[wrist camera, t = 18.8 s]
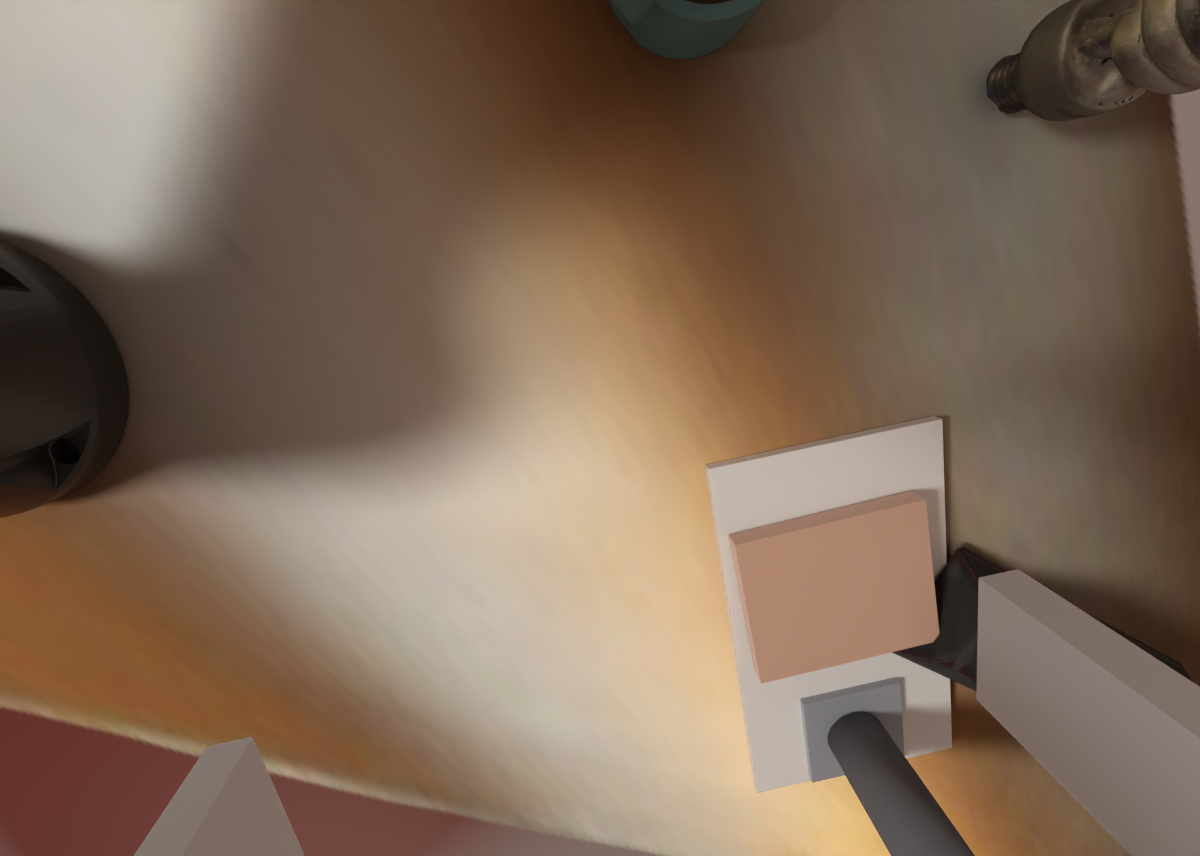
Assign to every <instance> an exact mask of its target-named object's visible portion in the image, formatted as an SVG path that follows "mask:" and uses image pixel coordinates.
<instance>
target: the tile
mask: <svg viewBox="0 0 1200 856" xmlns="http://www.w3.org/2000/svg"><path fill="white" fill-rule="evenodd" d="M728 538H729V543H730V548H731V553H732V559H733V564H734V569H735V574H736V580H737V585H738V590H739V595H740V601H741V606H742V611H743V616H744V621H745V627H746V632H747V637H748V642H749V648H750V653H751V658H752V663H753V668H754V670H755V672H756V674H757V676H758V678H759V680H760V682H761V684H762V683H766V682H770V681H774V680H779V679H783V678H787V677H791V676H795V675H799V674H804V673H808V672H812V671H816V670H820V669H824V668H829V667H833V666H837V665H841V664H845V663H849V662H854V661H858V660H862V659H866V658H870V657H874V656H878V655H883V654H887V653H891V652H895V651H899V650H903V649H908V648H912V647H916V646H920V645H924V644H928V643H933V642H934V640H935V639H936V638H937V636H938V635H939V624H938V614H937V604H936V595H935V585H934V575H933V565H932V556H931V546H930V536H929V526H928V517H927V507H926V499H924V498H922V497H920V496H919V495H917V494H915V493H913V492H912V491H909V492H904V493H900V494H896V495H892V496H888V497H883V498H879V499H875V500H871V501H867V502H863V503H858V504H854V505H850V506H846V507H842V508H837V509H833V510H829V511H825V512H821V513H816V514H812V515H808V516H804V517H800V518H795V519H791V520H787V521H783V522H779V523H775V524H770V525H766V526H762V527H758V528H754V529H749V530H745V531H741V532H737V533H733V534H728Z"/></svg>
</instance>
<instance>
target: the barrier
mask: <svg viewBox="0 0 1200 856" xmlns="http://www.w3.org/2000/svg"><path fill="white" fill-rule="evenodd" d="M1003 572H1007V571H1006V570H1004V569H1002V568H1000V567H998V566H996V565H995V564H993V563H991V562H989V561H987V560H985V559H983V558H981V557H980V556H978V555H976V554H974V553H972V552H970V551H968V550H966V549H965V548H958V549H957V550H956V551H955V553H954V554H953V556H952V557H951V559H950V560H949V561H948V563H947V564H946V566H945V567H944V569H943V570H942V571H941V573H940V574H939V576H938V577H937V579H936V580H935V581H934V585H935V595H936V604H937V614H938V624H939V635H938V636H937V638H936V639H935V640H934V642H933V643H928V644H924V645H920V646H916V647H912V648H908V649H903V650H899V651H895V652H892V653H894V654H896V655H898V656H901V657H903V658H905V659H907V660H909V661H912V662H914V663H916V664H918V665H920V666H922V667H925V668H927V669H929V670H931V671H933V672H936V673H938V674H940V675H942V676H944V677H947V678H949V679H951V680H953V681H955V682H957V683H960V684H962V685H964V686H966V687H968V688H971V689H973V690H975V691H977V640H978V585H979V578H980V577H984V576H989V575H994V574H998V573H1003ZM1088 615H1089V614H1088ZM1091 617H1092V616H1091ZM1093 618H1094V617H1093ZM1095 619H1096V618H1095ZM1096 620H1098V619H1096ZM1098 621H1099V622H1101V623H1102V624H1104V625H1105V626H1107V627H1108V628H1110V629H1111V630H1113V631H1115V632H1116V633H1118V634H1119V635H1121V636H1122V637H1124V638H1125V639H1127V640H1128V641H1130V642H1132V643H1133V644H1135V645H1136V646H1138V647H1139V648H1141V649H1142V650H1144V651H1145V652H1147V653H1149V654H1150V655H1152V656H1153V657H1155V658H1156V659H1158V660H1159V661H1161V662H1162V663H1164V664H1165V665H1167V666H1169V667H1170V668H1172V669H1173V670H1175V671H1176V672H1178V673H1179V674H1181V675H1182V676H1184V677H1186V678H1187V679H1189V680H1190V681H1192V680H1191V678H1190V676H1189V675H1188V673H1187V672H1186V670H1185V669H1184V667H1183V666H1182V665H1181V663H1179V662H1177V661H1175V660H1173V659H1171V658H1169V657H1167V656H1166V655H1164V654H1162V653H1160V652H1158V651H1156V650H1154V649H1152V648H1151V647H1149V646H1147V645H1145V644H1143V643H1141V642H1139V641H1137V640H1135V639H1134V638H1132V637H1130V636H1128V635H1126V634H1124V633H1122V632H1120V631H1119V630H1117V629H1115V628H1113V627H1111V626H1109V625H1107V624H1105V623H1104V622H1102V621H1100V620H1098ZM1192 682H1193V681H1192Z"/></svg>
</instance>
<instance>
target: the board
mask: <svg viewBox="0 0 1200 856" xmlns="http://www.w3.org/2000/svg"><path fill="white" fill-rule="evenodd" d="M705 468H706V474H707V481H708V487H709V494H710V501H711V507H712V514H713V520H714V527H715V533H716V540H717V547H718V553H719V560H720V566H721V573H722V579H723V586H724V592H725V599H726V606H727V612H728V619H729V625H730V632H731V638H732V645H733V652H734V658H735V665H736V671H737V678H738V684H739V691H740V698H741V704H742V711H743V717H744V724H745V730H746V737H747V743H748V750H749V757H750V763H751V770H752V776H753V783H754V786H755V788H756V791H757V793H759V792H763V791H768V790H772V789H776V788H781V787H785V786H789V785H794V784H798V783H802V782H807V781H812V782H816V781H821V780H825V779H829V778H834V777H838V776H842V775H845V773H844V772H843V770H842V768H841V766H840V765H839V763H838V761H837V759H836V758H835V756H834V754H833V752H832V751H831V749H830V747H829V745H828V733H829V730H830V728H831V727H832V725H833V724H834V723H835V722H836V721H837V720H838V719H840V718H841V717H843V716H845V715H847V714H849V713H853V712H867V713H870V714H872V715H874V716H876V717H877V718H878V720H879V721H880V722H881V724H882V725H883V727H884V728H885V730H886V731H887V732H888V734H889V735H890V737H891V738H892V739H893V741H894V742H895V744H896V745H897V747H898V748H899V749H900V751H901V752H902V754H903V755H904V756H905V758H910V757H915V756H919V755H923V754H928V753H932V752H936V751H941V750H945V749H949V748H952V729H951V695H950V679H949V678H947V677H944V676H942V675H940V674H938V673H936V672H933V671H931V670H929V669H927V668H925V667H922V666H920V665H918V664H916V663H914V662H912V661H909V660H907V659H905V658H903V657H901V656H898V655H896V654H894V653H892V652H891V653H887V654H883V655H878V656H874V657H870V658H866V659H862V660H858V661H854V662H849V663H845V664H841V665H837V666H833V667H829V668H824V669H820V670H816V671H812V672H808V673H804V674H799V675H795V676H791V677H787V678H783V679H779V680H774V681H770V682H766V683H762V684H761V682H760V680H759V678H758V676H757V674H756V672H755V670H754V668H753V663H752V658H751V653H750V648H749V642H748V637H747V632H746V627H745V621H744V616H743V611H742V606H741V601H740V595H739V590H738V585H737V580H736V574H735V569H734V564H733V559H732V553H731V548H730V543H729V538H728V534H733V533H737V532H741V531H745V530H749V529H754V528H758V527H762V526H766V525H770V524H775V523H779V522H783V521H787V520H791V519H795V518H800V517H804V516H808V515H812V514H816V513H821V512H825V511H829V510H833V509H837V508H842V507H846V506H850V505H854V504H858V503H863V502H867V501H871V500H875V499H879V498H883V497H888V496H892V495H896V494H900V493H904V492H909V491H912V492H913V493H915V494H917V495H919V496H920V497H922V498H924V499H926V507H927V517H928V526H929V536H930V546H931V556H932V565H933V575H934V581H935V580H936V579H937V577H938V576H939V574H940V573H941V571H942V570H943V569H944V567H945V566H946V564H947V559H946V525H945V491H944V457H943V423H942V419H941V418H939V417H936V416H931V417H927V418H922V419H917V420H913V421H908V422H903V423H899V424H894V425H889V426H884V427H880V428H875V429H870V430H866V431H861V432H856V433H852V434H847V435H842V436H838V437H833V438H828V439H824V440H819V441H814V442H810V443H805V444H800V445H796V446H791V447H786V448H782V449H777V450H772V451H768V452H763V453H758V454H754V455H749V456H744V457H740V458H735V459H730V460H726V461H721V462H716V463H712V464H707V465H705Z"/></svg>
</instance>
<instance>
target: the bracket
mask: <svg viewBox="0 0 1200 856" xmlns="http://www.w3.org/2000/svg"><path fill="white" fill-rule="evenodd" d="M763 1H764V0H730V1H727V2H722V3H717V4H697V3H694V2H690V1H686V0H608V2H609V4H610V7H611V9H612V12H613V13H614V14H615V16H616V17H617V18H618V19H619V21H620V22H621V23H622V24H623V26H624V27H625V28H626V29H627V31H628V32H629V33H630V34H631V36H632V37H633V38H634V39H635V40H636V42H637V43H638V44H639V45H641V46H642V47H644V48H646V49H647V50H649V51H650V52H653V53H655V54H658V55H661V56H663V57H668V58H674V59H692V58H696V57H700V56H704V55H707V54H709V53H711V52H713V51H715V50H717V49H719V48H720V47H722V46H723V45H724V44H726V43H727V42H729V41H730V40H731V39H732V38H733V37H734V36H735V35H736V34H737V33H738V32H739V31H740V30H741V28H742V27H743V26H744V25H745V23H746V22H747V21H748V20H749V19H750V17H751V16H752V15H753V14H754V12H755V11H756V10H757V9H758V8H759V6H760V5H761V4H762V3H763Z"/></svg>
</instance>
